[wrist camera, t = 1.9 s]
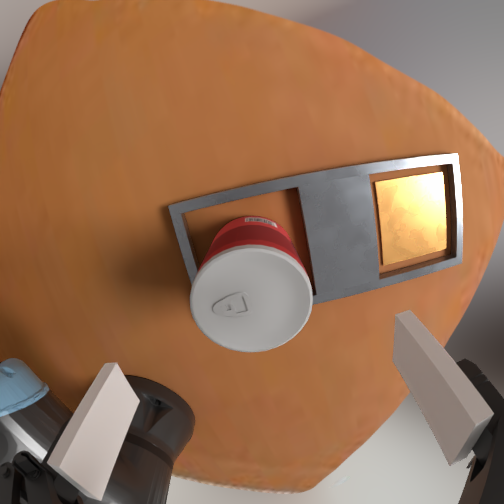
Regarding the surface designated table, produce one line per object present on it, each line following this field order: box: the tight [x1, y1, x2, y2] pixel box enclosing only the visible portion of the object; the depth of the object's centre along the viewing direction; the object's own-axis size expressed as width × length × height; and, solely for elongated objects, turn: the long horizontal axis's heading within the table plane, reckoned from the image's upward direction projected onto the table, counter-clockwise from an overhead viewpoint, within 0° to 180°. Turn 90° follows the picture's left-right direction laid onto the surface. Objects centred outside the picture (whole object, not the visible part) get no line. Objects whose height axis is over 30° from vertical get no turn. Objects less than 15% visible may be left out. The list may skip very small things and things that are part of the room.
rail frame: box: [168, 153, 463, 305], centre depth 27 cm, size 31×13×1 cm, turn 103°
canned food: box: [190, 216, 313, 352], centre depth 23 cm, size 8×8×11 cm
